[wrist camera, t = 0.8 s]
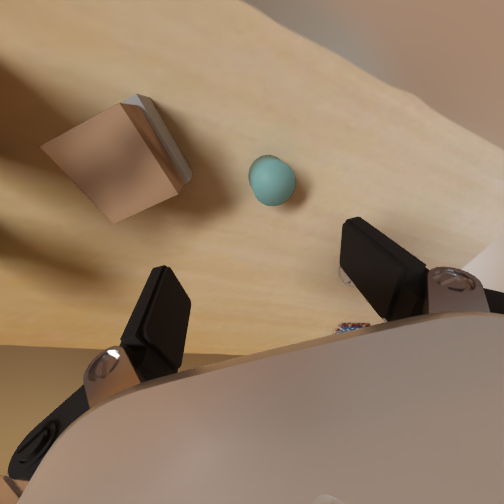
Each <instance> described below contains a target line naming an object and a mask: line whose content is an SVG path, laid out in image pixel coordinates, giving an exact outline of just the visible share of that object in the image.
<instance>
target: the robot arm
mask: <svg viewBox="0 0 504 504" xmlns="http://www.w3.org/2000/svg"><path fill="white" fill-rule="evenodd" d="M425 266H426V264H424V263H423V262H422V261H420V260H419V259H417V258H416V257H415V256H413V255H412V254H411V253H409V252H408V251H406V250H405V249H404V248H402V247H401V246H399V245H398V244H397V243H395V242H394V241H392V240H391V239H390V238H388V237H387V236H386V235H384V234H383V233H381V232H380V231H379V230H377V229H376V228H374V227H373V226H372V225H370V224H369V223H368V222H366V221H365V220H363V219H362V218H361V217H355V218H351V219H347V220H346V222H345V223H344V224H343V227H342V240H341V252H340V268H339V275H340V278H341V279H342V280H343V282H344V283H345V284H347V285H349V286H352V287H357V288H358V290H359V291H360V292H361V293H362V295H363V296H364V297H365V298H366V301H367V302H369V303H370V305H371V306H372V307H373V309H374V310H375V311H376V312H377V314H378V315H379V316H380V317H381V318H382V319H383V320H384V321H385V322H386V323H381V324H377V325H372V326H368V327H364V328H360V329H355V330H351V331H347V332H343V333H338V334H334V335H330V336H326V337H321V338H317V339H313V340H309V341H305V342H300V343H296V344H292V345H288V346H284V347H280V348H275V349H271V350H267V351H263V352H259V353H255V354H251V355H246V356H242V357H239V358H235V359H230V360H226V361H222V362H218V363H214V364H210V365H206V366H202V367H198V368H194V369H190V370H186V371H182V372H179V373H177V371H178V368H180V366H181V363H182V358H183V352H184V346H185V340H186V334H187V327H188V321H189V315H190V309H191V301H190V299H189V297H188V295H187V294H186V292H185V290H184V289H183V287H182V286H181V284H180V282H179V281H178V279H177V278H176V276H175V274H174V273H173V271H172V269H171V268H170V267H167V266H165V265H163V266H159V267H155V268H153V269H152V271H151V273H150V276H149V278H148V280H147V282H146V284H145V286H144V289H143V291H142V293H141V295H140V297H139V300H138V302H137V304H136V306H135V308H134V311H133V313H132V315H131V317H130V319H129V321H128V324H127V326H126V328H125V330H124V332H123V335H122V337H121V339H120V340H121V344H120V346H113V347H110V348H108V349H106V350H104V351H103V352H101V353H100V354H99V355H98V356H96V357H95V358H94V359H93V361H92V362H91V363H90V364H89V366H88V368H87V369H86V371H85V374H84V378H83V379H84V380H83V381H84V385H82V386H81V388H79V389H78V390H77V391H76V392H75V393H74V394H72V395H71V396H70V397H69V398H68V399H67V400H65V402H63V403H62V404H61V405H60V406H59V407H58V408H56V409H55V410H54V411H53V412H52V413H51V414H50V415H49V416H47V417H46V418H45V419H44V420H43V421H42V422H41V423H39V424H38V425H37V426H36V427H35V428H34V429H33V430H32V431H31V432H30V433H29V434H28V435H27V436H26V437H25V438H24V440H23V441H22V442H21V444H20V445H19V446H18V448H17V449H16V451H15V452H14V454H13V456H12V458H11V461H10V463H9V467H8V473H7V474H6V475H5V476H2V475H0V504H504V293H502V292H498V291H493V290H489V289H485V288H483V285H482V284H481V282H480V281H479V280H478V279H477V278H476V277H475V276H473V275H471V274H469V273H468V272H465V271H463V270H460V269H456V268H452V267H436V268H433V269H431V270H428V269H427V268H426V267H425Z"/></svg>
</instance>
